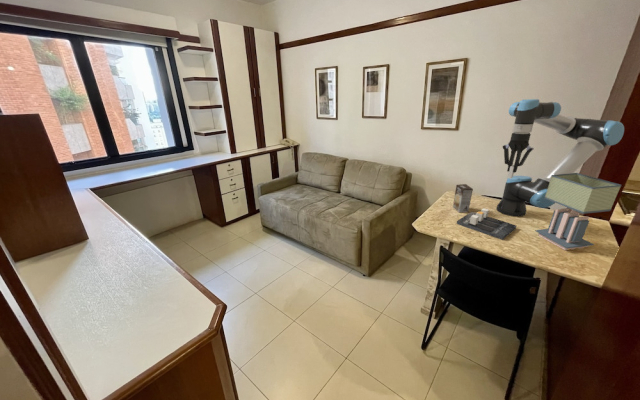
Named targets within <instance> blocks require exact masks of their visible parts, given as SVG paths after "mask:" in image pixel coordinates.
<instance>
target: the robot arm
mask: <svg viewBox="0 0 640 400" xmlns="http://www.w3.org/2000/svg"><path fill="white" fill-rule="evenodd" d="M561 111H562V106H561V104H560V103H559V102H553V101H550V102H549V101H548V102H540V99H538V98H530V99H529V98H527V99H521V100H520V101H516V102H513V103H512V104H511V105H510V106H509V108H508V114H509V116H511V117H515V120H514V123H513V127H512V133H511V137H510V140H509V142H508V143H507V144H504V145H502V149H503V155H504V160H503V161H504V164H505V165H507V172H508V175H507V178H506V181H505V185H504V189H503V192H502V193H503V194H502V198H501V200H499V202H498V203H497V205H496V211H497V212H498V213H501V214H503V215H506V216H509V217H524V216H526V215H527V206H526V203H527V204H530V205H532V206H534V207H537V208H540V209H545V208H549V207H552V206H553V205H554V204H556V203H555V202H552V201H550V200H547V199H545V196H546V193H547V189H548V186H549V183H550V180H551V177H552V175H559V174H570V173H576V171H578V169H579V168H580V167H581V166H582V165H584V163H586V162H587V160H588V159H589V158H590V157H592V156H593V155H594V154H595V153H596V152H599V151H603V150H604V149H605V148H606V147H608V146H610V147H611V146H615V145H616V144H618V143H620V141H621V140H622V138H623V136H624V133H625V126H624V124H623V123H622V122H620V121H618V120H617V121H615V120H612V119H611V120H610V119H609V120H605V119H595V118H594V119H591V118H578V117H573V116H565V115H562V114H560V113H561ZM534 123H536V124H538V125H541V126H544V127H546V128H549V129H552V130H554V131H555V132H556V133H558V134H560V135H563V136H565V137H568V138H570V139H573V140H575V141H576V142H577V143H576V144H574V146H573V147H571V149H570V150H569V151H568V152H567V153H566V154H565V155H564V156H563V157H562V158H561V159H560V160H559V161H558V162H557V163H556V164H555V165H554V166H553V167H552V168H551V169H550V170H549V171H548V172H547V173H546V174H544V176H543V177H539V178H538V177H537V179H536V180H535V181H533V177H531V176H527V175H515V173H516V172H517V171H518V168H519V167H521V166H524V165H525V164H524V163H525V162H526V160H527V158H528V157H529V155H530V153H532V151H533V150H534V147H531V146H530V143H529V142H530V140H531V139H530V138H531V135H532V134H531V133H532V131H533V126H534ZM509 148H510V150H511V152H510V153H509V151H510V150H509ZM525 150H526V151H525ZM523 151H525V153H524V154H523ZM509 154H510V155H509ZM522 154H523V156H522ZM515 156H516V157H515ZM521 156H522V158H521ZM514 160H515V161H514Z"/></svg>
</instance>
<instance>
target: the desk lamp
mask: <svg viewBox="0 0 640 400" xmlns="http://www.w3.org/2000/svg"><path fill="white" fill-rule="evenodd" d="M621 187H622V184H619V183H616V182H611V181H608V180H605V179H601V178H597V177H594V176H590V175H586V174H582V173H578V172H574V173H570V174H559V175H552V177H551V180H550V183H549V186H548V189H547V193H546V196H545V199H547V200H550V201H552V202H555V204H558V205H560V206H563V207H565V208H557V209H555V210H553V212H552V216H551V219H550V222H549V225H548V227H547V228H543V229H542V228H541V229H535V230H534V231H535V232H536V233H538V236H539V237H541V238H542V239H544V240H546V241H548V242H550V243H552V244H553V245H555V246H557V247H558V248H560V249H562V250H564V251H568V249H571V250H576V249H575V248H579V249H584V248H583V247H587V248H588V247H589V246H590V247H591V246H594V245H595V243H592V242H591V241H588V240H587V239H585V238H584V235H585V233H586V230H587V228H588V226H589V223H590V220H589V219H590V217H589V216H588V215H586V214H593V213H602V212H604V213H605V212H611V211H612V207H613V206H614V202H615V201H616V198H617V196H618V193H619V191H620V189H621ZM569 210H570V211H569ZM580 214H583V215H584V214H585V215H586V216H585V215H584V216H580Z"/></svg>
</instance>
